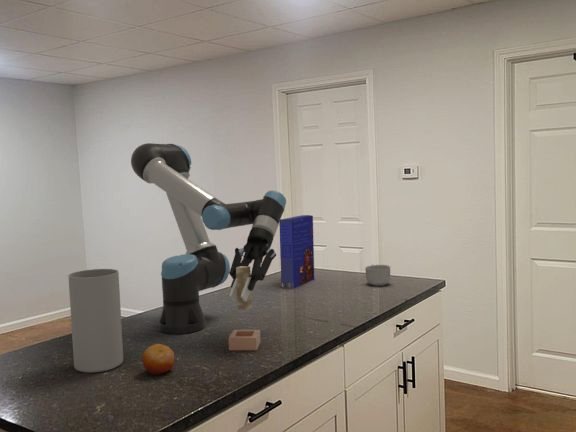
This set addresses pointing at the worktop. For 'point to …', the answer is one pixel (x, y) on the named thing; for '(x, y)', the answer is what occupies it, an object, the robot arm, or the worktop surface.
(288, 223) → the cereal box
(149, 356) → the fruit
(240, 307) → the beige tall square post
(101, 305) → the cylinder vase
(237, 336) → the orange-brown square frame
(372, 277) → the teacup
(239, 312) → the worktop surface
